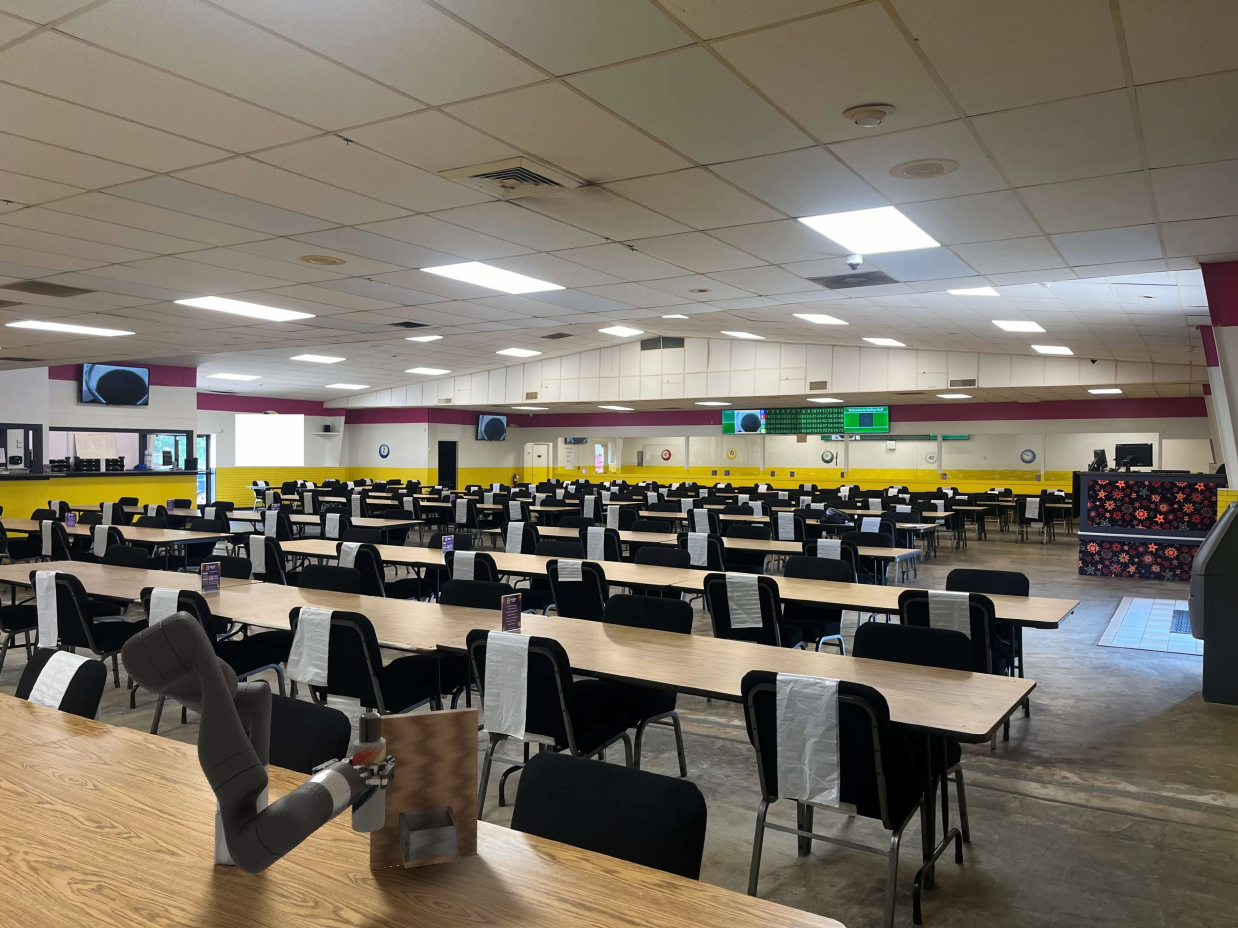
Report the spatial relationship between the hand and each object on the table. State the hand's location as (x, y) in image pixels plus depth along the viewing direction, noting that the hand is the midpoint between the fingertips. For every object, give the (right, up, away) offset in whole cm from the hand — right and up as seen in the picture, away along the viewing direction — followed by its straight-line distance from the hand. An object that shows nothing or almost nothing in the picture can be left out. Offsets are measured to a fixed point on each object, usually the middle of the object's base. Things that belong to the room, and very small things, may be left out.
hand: (375, 759), depth 152 cm
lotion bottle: (-1, -11, -3) cm, 11 cm away
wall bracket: (+9, -22, +4) cm, 24 cm away
